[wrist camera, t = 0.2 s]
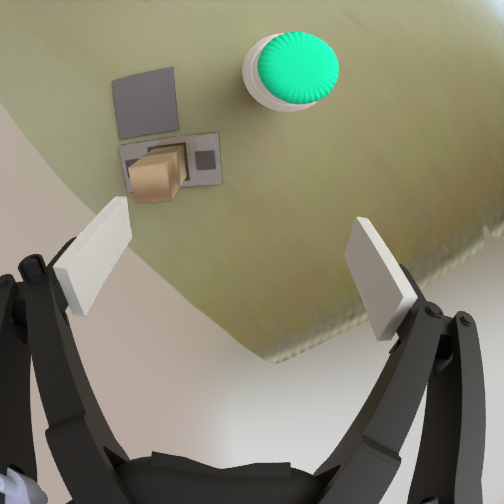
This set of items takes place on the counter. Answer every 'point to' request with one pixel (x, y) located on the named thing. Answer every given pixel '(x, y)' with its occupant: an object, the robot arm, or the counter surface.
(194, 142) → the plate with rectangular hole
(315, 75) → the white bottle
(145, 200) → the peg
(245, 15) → the counter surface
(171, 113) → the mat
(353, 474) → the robot arm
